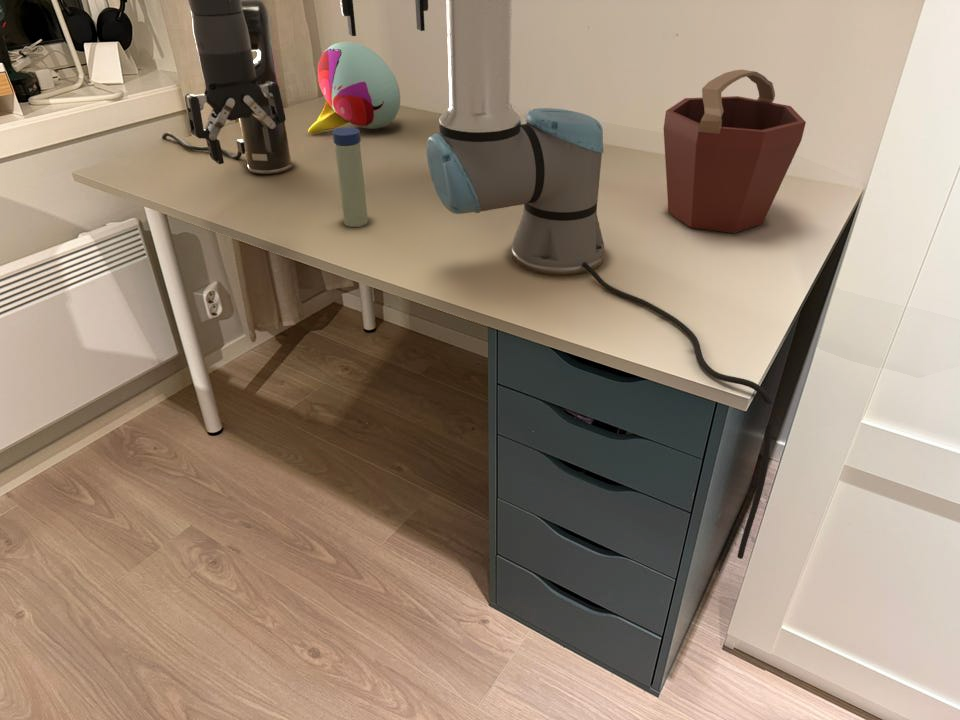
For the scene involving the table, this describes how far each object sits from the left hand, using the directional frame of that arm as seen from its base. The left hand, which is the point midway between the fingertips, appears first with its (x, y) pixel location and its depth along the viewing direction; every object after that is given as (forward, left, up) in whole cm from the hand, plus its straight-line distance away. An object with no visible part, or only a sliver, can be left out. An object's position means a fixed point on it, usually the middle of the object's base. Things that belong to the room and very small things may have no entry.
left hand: (245, 157), depth 111 cm
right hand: (-18, +38, +12) cm, 44 cm away
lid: (-1, +18, 0) cm, 18 cm away
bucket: (+37, +73, -16) cm, 83 cm away
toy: (-54, +48, -16) cm, 74 cm away
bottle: (-1, +18, -16) cm, 24 cm away
